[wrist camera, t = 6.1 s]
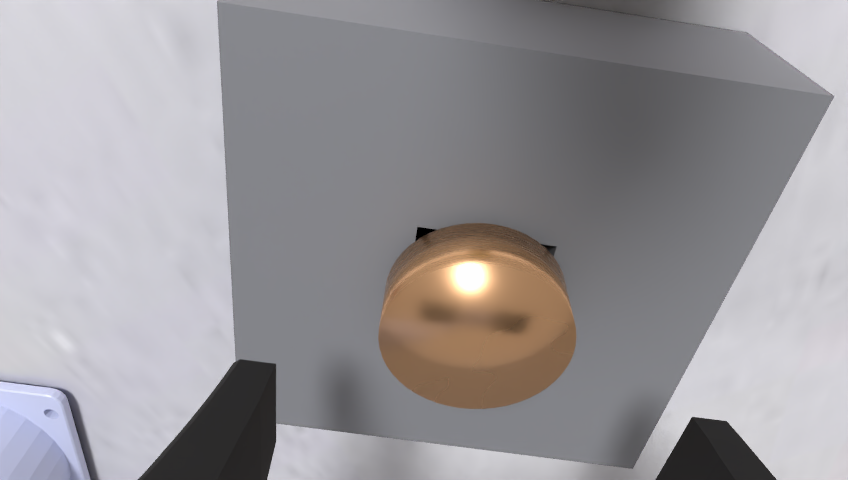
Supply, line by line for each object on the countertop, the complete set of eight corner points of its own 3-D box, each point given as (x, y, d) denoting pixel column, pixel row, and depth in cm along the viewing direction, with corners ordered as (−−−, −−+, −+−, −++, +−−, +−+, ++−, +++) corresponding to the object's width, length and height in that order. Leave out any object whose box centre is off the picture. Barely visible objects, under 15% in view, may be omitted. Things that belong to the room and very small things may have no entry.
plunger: (525, 270, 18) (548, 419, 14) (392, 251, 18) (369, 396, 14) (561, 149, 16) (602, 279, 11) (408, 127, 16) (389, 250, 11)
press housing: (604, 364, 20) (632, 468, 17) (274, 320, 20) (238, 418, 17) (747, 32, 14) (834, 96, 11) (274, -42, 14) (216, 1, 11)
